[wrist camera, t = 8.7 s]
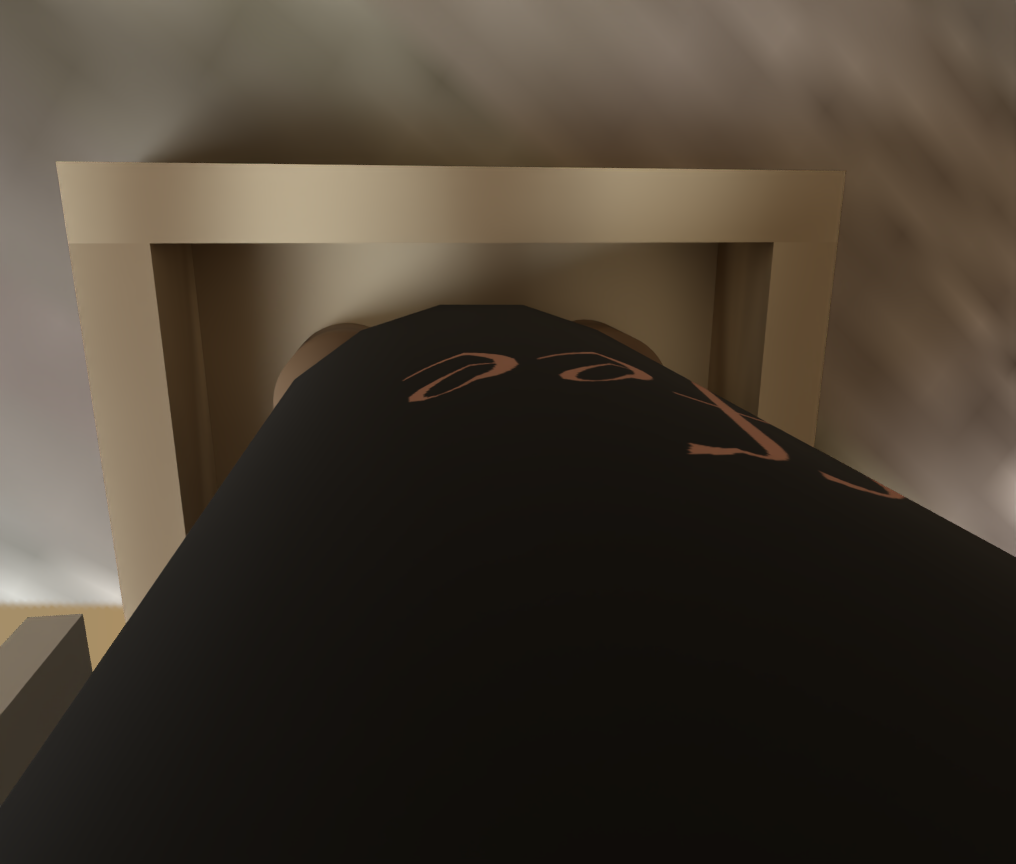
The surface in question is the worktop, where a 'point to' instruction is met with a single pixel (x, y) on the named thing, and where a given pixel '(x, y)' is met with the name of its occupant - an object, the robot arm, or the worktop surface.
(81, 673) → the robot arm
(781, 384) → the peg frame
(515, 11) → the worktop surface
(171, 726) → the coffee jar
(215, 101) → the worktop surface
